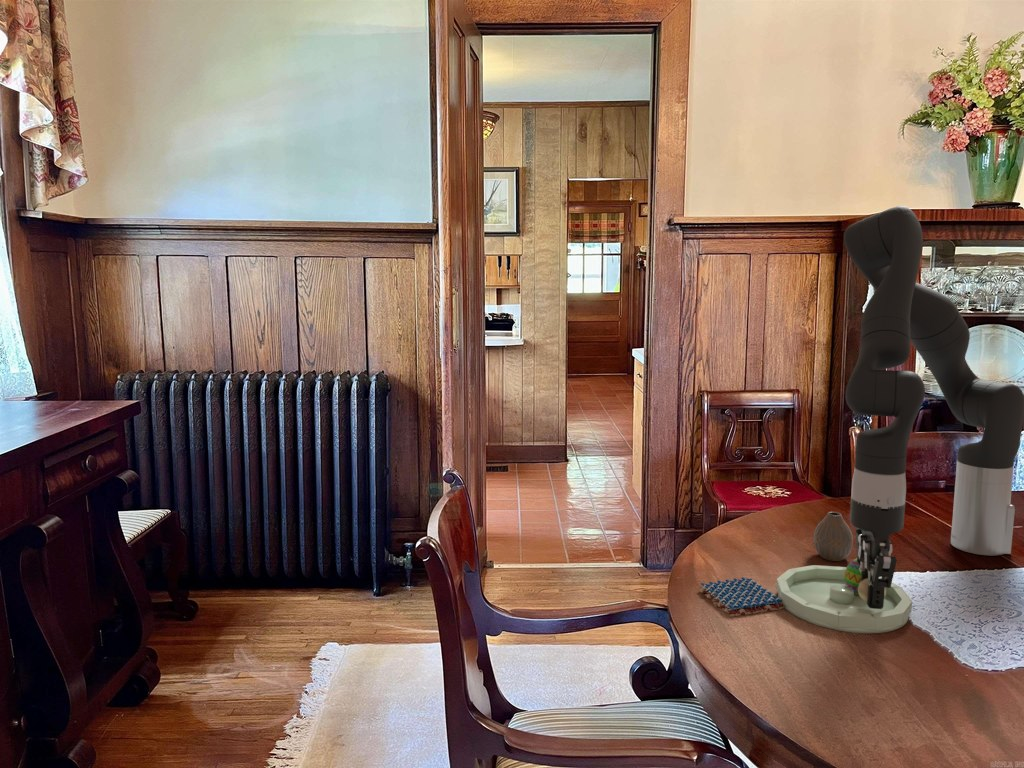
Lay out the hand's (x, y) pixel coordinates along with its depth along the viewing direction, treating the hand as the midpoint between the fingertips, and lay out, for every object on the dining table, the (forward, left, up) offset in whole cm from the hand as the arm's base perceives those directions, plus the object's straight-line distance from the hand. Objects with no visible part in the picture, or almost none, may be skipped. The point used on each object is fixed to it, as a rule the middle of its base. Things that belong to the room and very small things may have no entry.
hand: (871, 601), depth 114 cm
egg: (0, -7, -2) cm, 7 cm away
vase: (+1, -25, -3) cm, 25 cm away
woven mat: (+20, -3, -3) cm, 20 cm away
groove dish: (+4, -4, -2) cm, 6 cm away
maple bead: (0, 0, 0) cm, 0 cm away
